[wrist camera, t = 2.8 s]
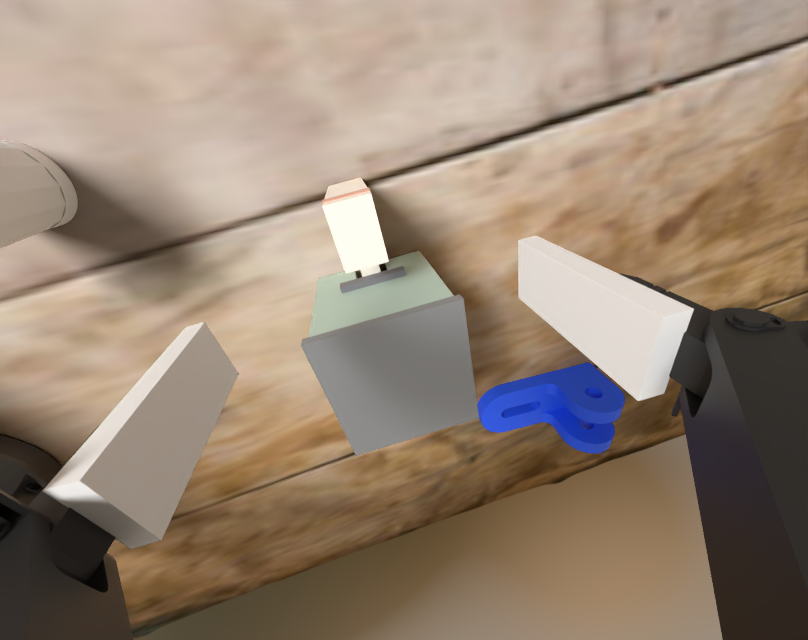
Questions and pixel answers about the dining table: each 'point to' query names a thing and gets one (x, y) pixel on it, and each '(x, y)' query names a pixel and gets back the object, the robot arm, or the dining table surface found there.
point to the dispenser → (392, 353)
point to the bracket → (558, 406)
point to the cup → (31, 193)
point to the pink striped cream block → (355, 227)
